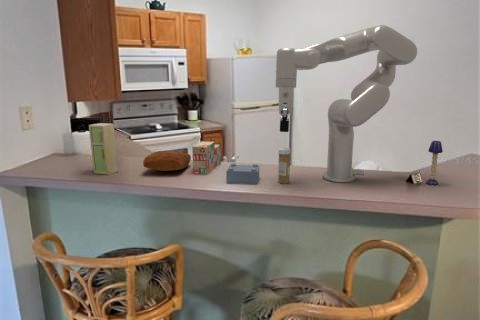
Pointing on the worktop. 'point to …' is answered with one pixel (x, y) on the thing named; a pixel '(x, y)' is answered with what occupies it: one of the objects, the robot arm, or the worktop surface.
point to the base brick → (242, 174)
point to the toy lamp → (434, 161)
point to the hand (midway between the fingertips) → (284, 129)
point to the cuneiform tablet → (167, 161)
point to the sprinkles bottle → (284, 165)
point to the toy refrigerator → (103, 148)
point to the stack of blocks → (205, 157)
